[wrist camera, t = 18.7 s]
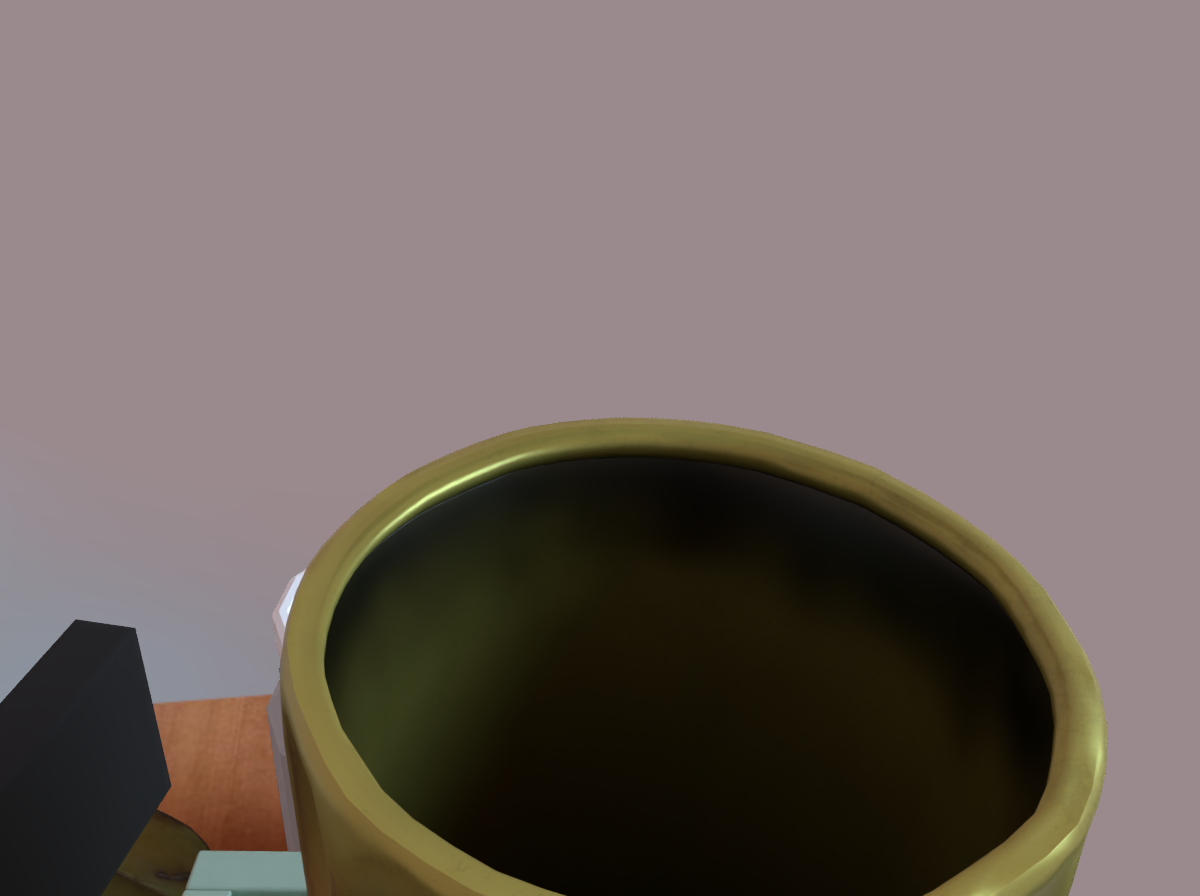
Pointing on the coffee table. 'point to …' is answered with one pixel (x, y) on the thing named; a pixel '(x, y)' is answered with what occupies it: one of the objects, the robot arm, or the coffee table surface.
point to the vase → (680, 681)
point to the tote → (247, 874)
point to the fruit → (158, 860)
